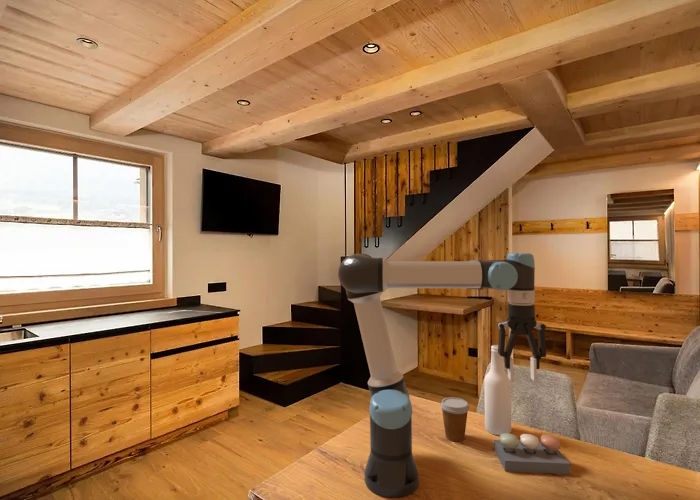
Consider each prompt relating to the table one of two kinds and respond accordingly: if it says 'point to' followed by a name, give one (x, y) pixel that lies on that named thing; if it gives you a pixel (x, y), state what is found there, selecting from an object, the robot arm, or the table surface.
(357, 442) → the table surface
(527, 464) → the button board
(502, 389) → the alcohol
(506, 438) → the sage button
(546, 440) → the terracotta button
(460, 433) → the disposable coffee cup
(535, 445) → the ivory button
